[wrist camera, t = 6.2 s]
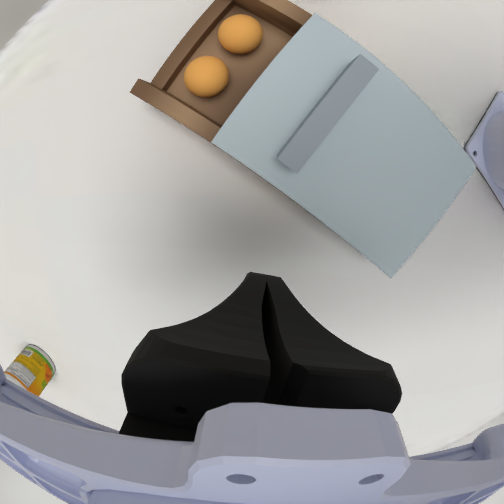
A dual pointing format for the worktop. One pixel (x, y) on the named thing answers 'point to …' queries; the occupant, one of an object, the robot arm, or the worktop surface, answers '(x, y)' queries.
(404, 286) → the worktop surface
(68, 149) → the worktop surface
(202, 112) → the case
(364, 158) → the lid
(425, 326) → the worktop surface
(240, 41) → the ball
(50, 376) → the supplement bottle
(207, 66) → the ball
